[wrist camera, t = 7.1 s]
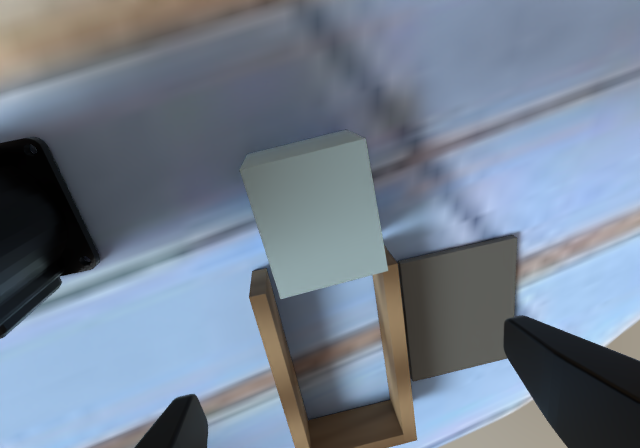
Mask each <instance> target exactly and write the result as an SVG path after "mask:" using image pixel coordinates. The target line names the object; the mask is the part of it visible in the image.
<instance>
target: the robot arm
mask: <svg viewBox="0 0 640 448" xmlns="http://www.w3.org/2000/svg"><path fill="white" fill-rule="evenodd" d="M30 145H33V146H34V147H35V148H36V150H37V153H36V154H34V153H32V152H31V150H30ZM84 256H86V257H88V258H89V259H90V260H91V262H88V261H86V260H85V259H84ZM99 262H100V255H99V253H98V251H97V249H96V247H95V245H94V243H93V241H92V239H91V236H90V234H89V232H88V230H87V228H86V226H85V224H84V222H83V220H82V218H81V215H80V213H79V211H78V209H77V207H76V205H75V203H74V201H73V199H72V197H71V194H70V192H69V190H68V188H67V186H66V184H65V182H64V180H63V178H62V176H61V173H60V171H59V169H58V167H57V165H56V163H55V161H54V159H53V157H52V155H51V152H50V150H49V148H48V146H47V145H46V143H45V142H44V141H42V140H41V139H39V138H36V137H30V138H24V139H19V140H14V141H9V142H4V143H0V339H1V338H3V337H5V336H6V335H7V334H8V333H9V332H10V331H12V330H13V329H14V328H15V327H16V326H17V325H18V324H19V323H20V322H22V321H23V320H24V319H25V318H26V317H27V316H28V315H29V314H30V313H32V312H33V311H34V310H35V309H36V308H37V307H38V306H39V305H40V304H42V303H43V302H44V301H45V300H46V299H47V298H48V297H49V296H51V295H52V294H53V293H54V292H55V291H56V290H57V289H58V288H59V287H60V285H61V283H62V281H61V279H60V277H59V276H64V275H68V274H73V273H78V272H82V271H87V270H91V269H93V268H94V267H95V266H96V265H97V264H98V263H99ZM503 348H504V352H505V354H506V356H507V358H508V360H509V361H510V363H511V364H512V366H513V368H514V369H515V371H516V372H517V374H518V376H519V377H520V379H521V380H522V382H523V383H524V385H525V387H526V388H527V390H528V391H529V393H530V395H531V396H532V398H533V399H534V401H535V403H536V404H537V406H538V407H539V409H540V410H541V412H542V413H543V415H544V416H545V418H546V419H547V421H548V422H549V424H550V425H551V426H552V428H553V429H554V430H555V432H556V433H557V434H558V436H559V437H560V438H561V439H562V441H563V442H564V443H565V445H566V446H567V447H568V448H640V361H638V360H636V359H633V358H631V357H628V356H626V355H623V354H621V353H618V352H616V351H613V350H611V349H608V348H606V347H603V346H601V345H598V344H595V343H593V342H590V341H588V340H585V339H583V338H580V337H578V336H575V335H573V334H570V333H568V332H565V331H562V330H560V329H557V328H555V327H552V326H550V325H547V324H545V323H542V322H540V321H537V320H535V319H532V318H529V317H527V316H523V315H521V316H516V317H512V318H508V319H506V320H505V322H504V337H503ZM207 439H208V423H207V419H206V416H205V414H204V412H203V409H202V407H201V405H200V402H199V400H198V398H197V396H196V395H195V394H189V395H185V396H180V397H177V398H176V399H174V400H173V401H172V402H171V404H170V405H169V406H168V407H167V409H166V410H165V411H164V412H163V413H162V415H161V416H160V417H159V418H158V419H157V421H156V422H155V423H154V424H153V426H152V427H151V428H150V429H149V430H148V432H147V433H146V434H145V435H144V437H143V438H142V439H141V440H140V441H139V443H138V444H137V445H136V446H135V447H134V448H207Z"/></svg>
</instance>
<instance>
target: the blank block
mask: <svg viewBox="0 0 640 448" xmlns="http://www.w3.org/2000/svg"><path fill="white" fill-rule="evenodd" d="M240 173H241V176H242V179H243V182H244V186H245V189H246V192H247V195H248V198H249V201H250V204H251V208H252V211H253V214H254V217H255V220H256V223H257V226H258V230H259V233H260V236H261V239H262V242H263V245H264V248H265V252H266V255H267V258H268V261H269V264H270V267H271V270H272V274H273V277H274V280H275V283H276V286H277V289H278V292H279V295H280V299H284V298H287V297H291V296H295V295H299V294H302V293H306V292H310V291H314V290H318V289H321V288H325V287H329V286H333V285H336V284H340V283H344V282H348V281H352V280H355V279H359V278H363V277H367V276H370V275H374V274H378V273H382V272H386V271H388V266H387V261H386V255H385V249H384V243H383V237H382V231H381V225H380V220H379V214H378V208H377V202H376V196H375V190H374V184H373V179H372V173H371V167H370V161H369V155H368V149H367V143H366V138H363V137H361V136H359V135H357V134H355V133H353V132H351V131H348V130H342V131H338V132H334V133H330V134H326V135H322V136H318V137H314V138H310V139H306V140H302V141H298V142H294V143H290V144H286V145H282V146H278V147H274V148H270V149H266V150H262V151H258V152H254V153H250V154H247V155H246V157H245V160H244V162H243V164H242V166H241V168H240Z"/></svg>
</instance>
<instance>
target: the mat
mask: <svg viewBox="0 0 640 448" xmlns="http://www.w3.org/2000/svg"><path fill="white" fill-rule="evenodd" d="M516 255H517V237H515V236H514V235H510V236H506V237H502V238H497V239H493V240H488V241H484V242H480V243H475V244H471V245H466V246H462V247H458V248H453V249H449V250H444V251H440V252H436V253H431V254H427V255H422V256H418V257H413V258H409V259H405V260H400V261H398V264H399V273H400V283H401V292H402V301H403V310H404V320H405V329H406V338H407V347H408V357H409V366H410V375H411V379H412V381H413V382H414V381H418V380H422V379H426V378H430V377H434V376H438V375H442V374H446V373H450V372H454V371H458V370H462V369H466V368H471V367H475V366H479V365H483V364H487V363H491V362H495V361H499V360H503V359H507V356H506V354H505V352H504V348H503V337H504V322H505V320H506V319H508V318H512V317H514V307H515V281H516Z"/></svg>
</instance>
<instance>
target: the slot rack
mask: <svg viewBox="0 0 640 448" xmlns="http://www.w3.org/2000/svg"><path fill="white" fill-rule="evenodd" d="M384 249H385V255H386V261H387V266H388V271H386V272H382V273H378V274H374V275H373V282H374V289H375V296H376V303H377V310H378V317H379V324H380V331H381V338H382V345H383V352H384V359H385V366H386V373H387V380H388V387H389V394H390V400H388V401H384V402H380V403H376V404H372V405H367V406H363V407H359V408H355V409H351V410H347V411H343V412H339V413H335V414H331V415H327V416H323V417H319V418H315V419H311V420H308V418H307V414H306V410H305V407H304V403H303V399H302V396H301V392H300V388H299V385H298V381H297V378H296V374H295V370H294V367H293V363H292V359H291V356H290V352H289V348H288V345H287V341H286V337H285V334H284V330H283V327H282V323H281V319H280V316H279V312H278V308H277V305H276V301H275V297H274V294H273V290H272V286H271V283H270V279H269V275H268V272H267V268H265V269H260V270H256V271H252V277H251V285H250V293H249V299H250V302H251V305H252V309H253V312H254V315H255V318H256V322H257V325H258V328H259V331H260V335H261V338H262V341H263V344H264V348H265V351H266V354H267V357H268V361H269V364H270V367H271V370H272V374H273V377H274V380H275V383H276V387H277V390H278V393H279V396H280V400H281V403H282V406H283V409H284V413H285V416H286V419H287V422H288V426H289V429H290V432H291V435H292V439H293V442H294V445H295V448H389V447H392V446H396V445H400V444H404V443H408V442H412V441H416V440H417V436H416V427H415V417H414V408H413V399H412V390H411V381H410V372H409V362H408V353H407V344H406V335H405V326H404V317H403V307H402V298H401V289H400V280H399V271H398V263H397V262H396V261H395V259H394V258H393V256H392V255H391V254H390V252H389V251H388V250H387V248H386V247H385V246H384Z"/></svg>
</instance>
